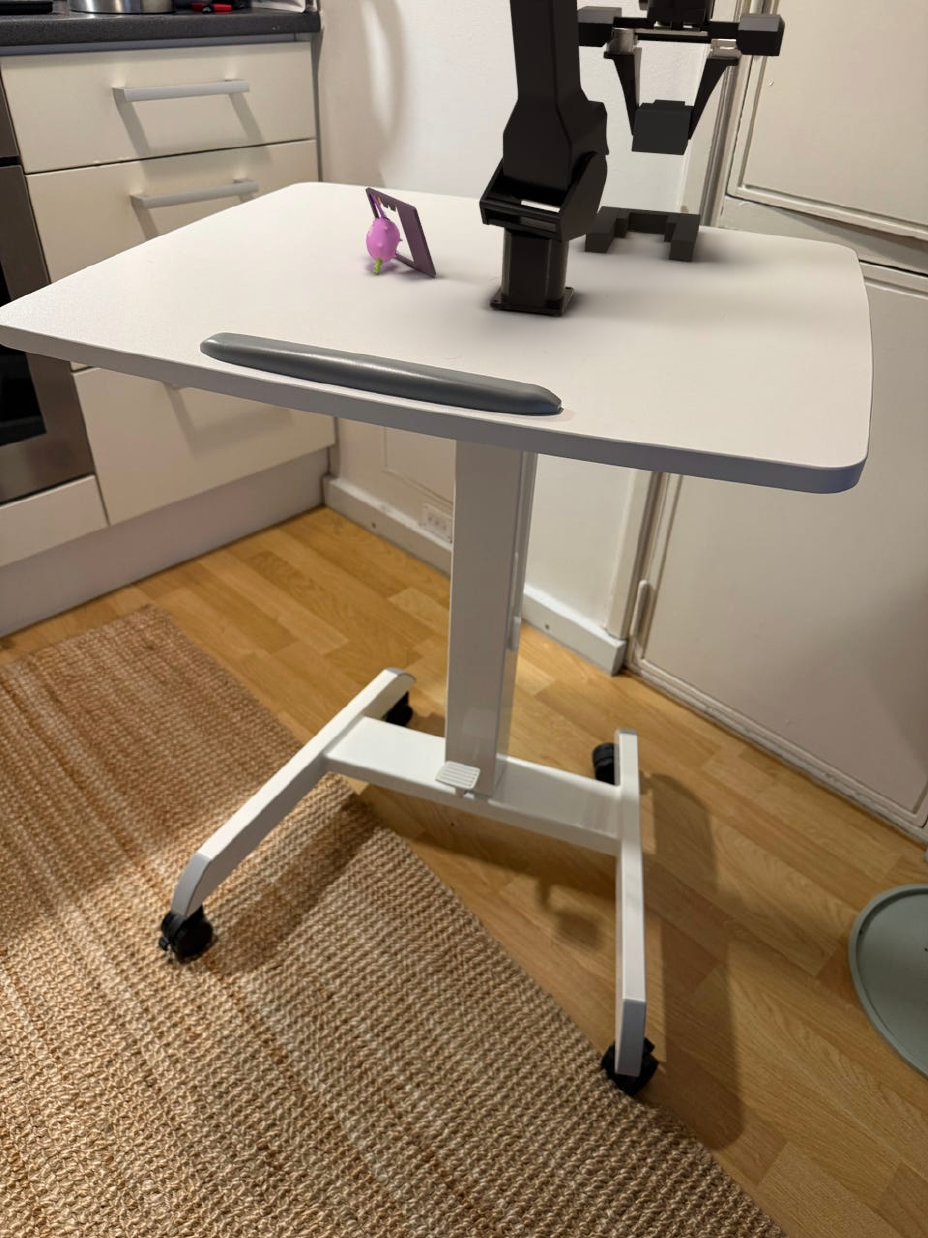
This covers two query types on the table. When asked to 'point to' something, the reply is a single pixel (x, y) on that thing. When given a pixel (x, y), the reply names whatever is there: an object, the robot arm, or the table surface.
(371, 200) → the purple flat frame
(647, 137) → the pad piece
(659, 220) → the base pad
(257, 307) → the table surface
